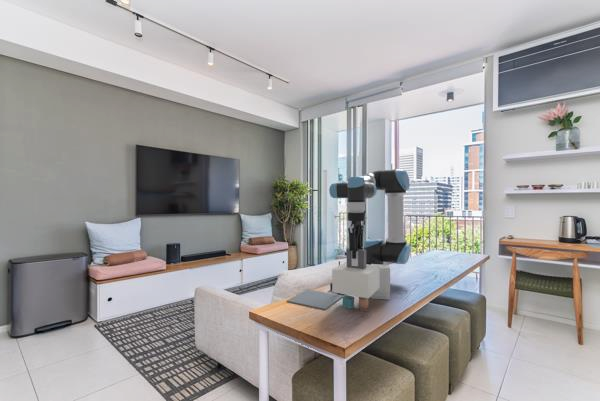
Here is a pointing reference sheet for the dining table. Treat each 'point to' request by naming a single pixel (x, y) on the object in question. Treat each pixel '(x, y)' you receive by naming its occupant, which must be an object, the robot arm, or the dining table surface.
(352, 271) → the cover
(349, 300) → the teal cube
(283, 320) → the dining table surface
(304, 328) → the dining table surface
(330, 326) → the dining table surface
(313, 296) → the pad
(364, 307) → the terracotta cylinder
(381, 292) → the supplement box
